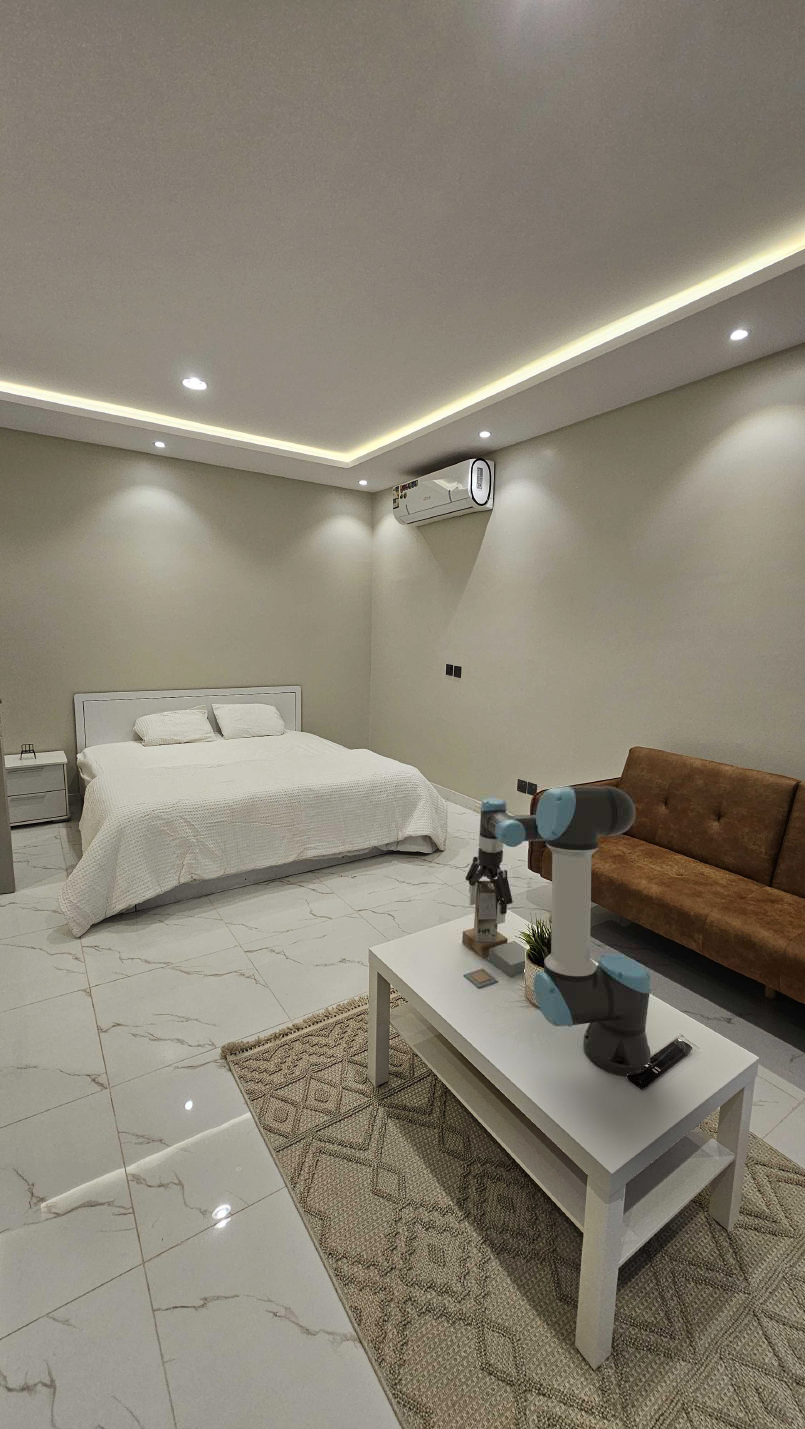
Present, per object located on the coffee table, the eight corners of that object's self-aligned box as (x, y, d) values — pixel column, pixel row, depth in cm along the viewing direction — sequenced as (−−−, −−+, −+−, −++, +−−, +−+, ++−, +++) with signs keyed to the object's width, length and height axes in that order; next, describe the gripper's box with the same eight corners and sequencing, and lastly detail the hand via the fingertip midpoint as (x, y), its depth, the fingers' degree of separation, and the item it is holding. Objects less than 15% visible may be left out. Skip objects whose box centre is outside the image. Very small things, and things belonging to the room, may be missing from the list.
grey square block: (535, 969, 179) (537, 956, 178) (510, 977, 174) (511, 964, 173) (513, 952, 187) (514, 940, 187) (488, 960, 182) (489, 948, 182)
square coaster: (498, 981, 171) (498, 979, 171) (478, 988, 168) (478, 986, 168) (482, 969, 177) (482, 967, 177) (463, 975, 174) (463, 973, 174)
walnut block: (506, 950, 188) (507, 938, 188) (481, 958, 183) (482, 946, 183) (486, 935, 197) (487, 924, 196) (462, 942, 192) (462, 931, 191)
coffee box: (497, 942, 185) (500, 893, 183) (476, 941, 185) (479, 892, 183) (492, 927, 194) (496, 880, 192) (472, 927, 194) (475, 879, 192)
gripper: (527, 860, 177) (522, 928, 180) (475, 833, 198) (471, 894, 201) (508, 864, 173) (503, 933, 176) (457, 837, 194) (453, 899, 197)
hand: (486, 913), depth 189 cm, fingers open, 13 cm apart
